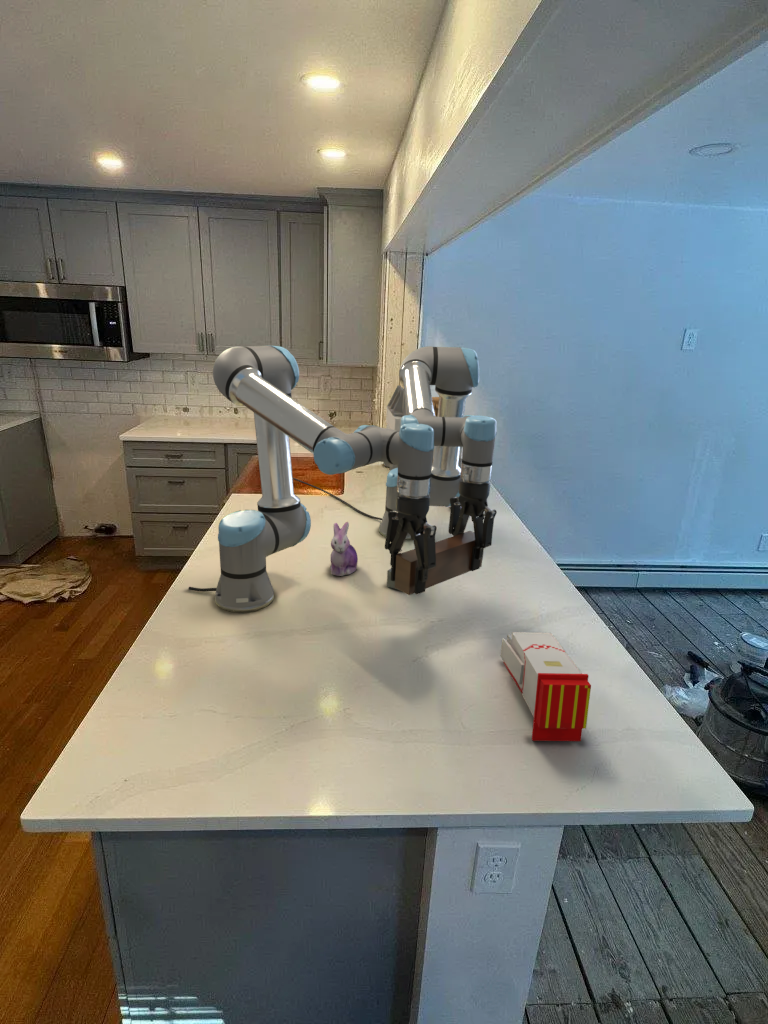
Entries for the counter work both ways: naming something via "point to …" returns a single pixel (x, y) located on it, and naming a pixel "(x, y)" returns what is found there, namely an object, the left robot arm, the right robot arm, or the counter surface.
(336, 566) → the figurine
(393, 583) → the grey block
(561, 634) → the counter surface
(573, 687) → the toy
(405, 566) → the walnut bar
